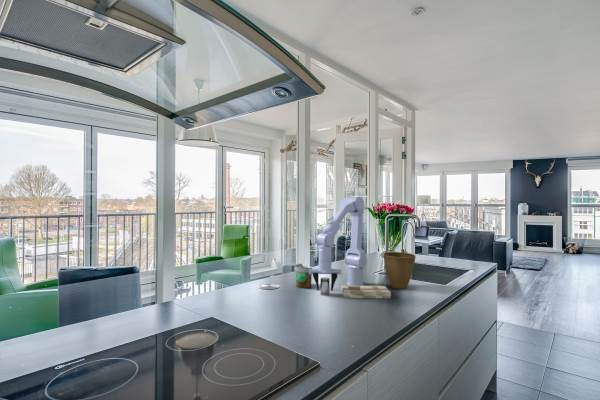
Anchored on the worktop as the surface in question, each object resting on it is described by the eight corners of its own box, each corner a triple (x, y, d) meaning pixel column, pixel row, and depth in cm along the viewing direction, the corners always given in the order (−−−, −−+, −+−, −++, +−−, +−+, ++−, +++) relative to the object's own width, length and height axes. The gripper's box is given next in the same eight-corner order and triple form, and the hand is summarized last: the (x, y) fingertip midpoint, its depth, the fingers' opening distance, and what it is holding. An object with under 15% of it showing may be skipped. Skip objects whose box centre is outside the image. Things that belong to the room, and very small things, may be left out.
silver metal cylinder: (320, 292, 144) (320, 277, 144) (329, 292, 144) (329, 277, 144) (320, 295, 140) (320, 279, 140) (329, 295, 140) (329, 279, 140)
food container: (290, 284, 159) (290, 264, 159) (301, 283, 161) (301, 263, 161) (300, 290, 148) (300, 269, 148) (312, 289, 150) (312, 268, 150)
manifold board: (341, 290, 148) (341, 285, 148) (384, 291, 147) (384, 285, 147) (344, 297, 137) (344, 292, 137) (390, 298, 136) (390, 292, 136)
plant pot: (379, 288, 152) (380, 255, 152) (387, 281, 165) (387, 251, 165) (412, 293, 144) (412, 258, 144) (417, 285, 157) (417, 253, 157)
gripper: (309, 261, 138) (308, 292, 138) (342, 261, 138) (342, 292, 138) (308, 258, 146) (308, 288, 145) (340, 258, 145) (340, 288, 145)
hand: (324, 290), depth 142 cm, fingers open, 6 cm apart
